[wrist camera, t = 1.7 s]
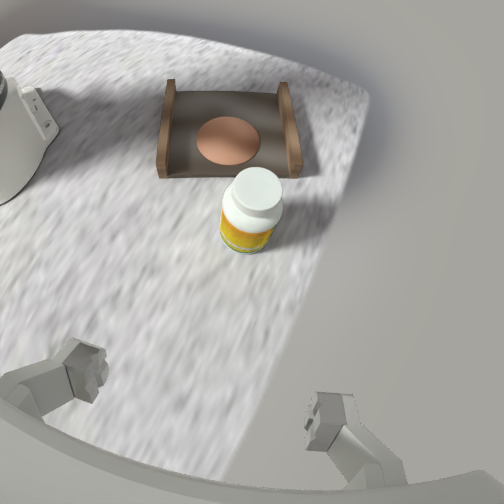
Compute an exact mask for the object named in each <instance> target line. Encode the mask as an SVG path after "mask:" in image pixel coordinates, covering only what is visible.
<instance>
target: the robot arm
mask: <svg viewBox="0 0 504 504" xmlns="http://www.w3.org/2000/svg"><path fill="white" fill-rule="evenodd" d="M58 132H59V127H58V126H57V124H56V122H55V121H54V119H53V118H52V116H51V114H50V113H49V111H48V109H47V108H46V106H45V104H44V103H43V101H42V99H41V98H40V96H39V94H38V93H37V91H36V89H35V88H34V87H33V86H28V87H25V88H22V89H20V87H19V85H18V83H17V81H16V79H15V78H13V77H9V78H5V77H4V75H3V73H2V72H1V71H0V204H2V203H4V202H6V201H8V200H9V199H11V198H12V197H13V196H15V195H16V194H17V193H18V192H19V191H20V190H21V189H22V188H23V187H24V186H25V185H26V184H27V183H28V181H29V180H30V179H31V177H32V176H33V175H34V173H35V171H36V170H37V168H38V166H39V164H40V162H41V160H42V157H43V155H44V152H45V150H46V148H47V147H48V145H49V144H50V143H51V142H52V141H53V139H54V138H55V137H56V135H57V134H58ZM106 356H107V355H106V350H105V349H104V348H102V347H99V346H96V345H93V344H90V343H88V342H85V341H82V340H79V339H76V338H74V337H73V338H70V339H69V340H68V341H67V342H66V344H65V345H64V346H63V347H62V348H61V349H60V350H59V352H58V353H57V354H56V355H55V356H54V357H53V358H52V360H51V359H46V360H43V361H40V362H37V363H34V364H31V365H28V366H25V367H22V368H20V369H17V370H14V371H11V372H8V373H5V374H4V375H3V376H2V377H1V378H0V504H504V485H503V484H502V483H501V482H499V481H498V480H497V479H496V478H494V477H493V476H492V475H490V474H488V473H487V472H485V471H483V470H477V471H472V472H469V473H465V474H461V475H456V476H453V477H448V478H443V479H439V480H433V481H428V482H422V483H416V484H410V485H408V483H407V479H406V475H405V471H404V467H403V463H402V460H400V458H398V457H397V456H396V455H395V454H394V453H393V452H392V451H391V450H390V449H389V448H388V447H387V446H386V445H385V444H383V443H382V442H381V441H380V440H379V439H378V438H377V437H376V436H375V435H374V434H373V433H372V432H371V431H370V430H369V429H368V428H366V426H364V425H361V423H360V419H359V414H358V410H357V406H356V402H355V398H354V395H353V394H339V393H326V392H315V393H314V394H313V396H312V398H311V399H312V404H310V405H309V406H308V408H307V410H306V414H305V419H304V428H305V429H306V430H307V434H306V436H305V448H306V450H308V451H321V452H327V454H328V456H329V457H330V458H331V460H332V461H333V462H334V464H335V465H336V467H337V468H338V469H339V471H340V472H341V473H342V475H343V476H344V478H345V479H346V480H347V482H348V485H347V486H346V487H345V488H344V489H343V490H332V491H331V490H330V491H321V490H290V489H275V488H265V487H256V486H247V485H240V484H233V483H226V482H221V481H215V480H209V479H204V478H199V477H195V476H190V475H186V474H181V473H177V472H173V471H169V470H166V469H162V468H158V467H155V466H151V465H148V464H144V463H141V462H138V461H135V460H132V459H129V458H126V457H123V456H120V455H117V454H114V453H112V452H109V451H106V450H104V449H101V448H99V447H96V446H93V445H91V444H89V443H86V442H84V441H81V440H79V439H77V438H75V437H72V436H70V435H68V434H66V433H64V432H62V431H59V430H57V429H55V428H53V427H51V426H49V425H47V424H45V422H44V420H43V418H42V416H44V415H46V414H47V413H49V412H51V411H53V410H55V409H56V408H58V407H60V406H62V405H63V404H65V403H67V402H69V401H71V400H72V399H74V397H75V398H78V399H80V400H83V401H86V402H88V403H91V404H92V403H93V402H94V400H95V398H96V397H97V395H98V394H99V391H98V388H99V387H101V386H103V385H104V384H105V382H106V380H107V377H108V371H109V368H108V364H107V362H106V361H105V360H104V359H105V358H106Z"/></svg>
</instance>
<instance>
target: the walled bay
mask: <svg viewBox="0 0 504 504" xmlns="http://www.w3.org/2000/svg"><path fill="white" fill-rule="evenodd" d="M156 167H157V171H158V176H159V178H190V177H236V176H237V175H238V174H239V173H240V172H241V171H243V170H244V169H247V168H251V167H261V168H265V169H267V170H270V171H271V172H273V173H274V174H275V175H276V176H277V177H278V178H295V179H297V177H298V175H299V173H300V171H301V169H302V167H303V160H302V154H301V149H300V143H299V138H298V133H297V127H296V122H295V117H294V112H293V107H292V103H291V98H290V93H289V88H288V84H287V82H280V84H279V87H278V91H277V94H273V93H258V92H236V91H180V92H176V86H175V79H168V80H167V86H166V92H165V98H164V104H163V111H162V118H161V125H160V132H159V140H158V149H157V157H156Z"/></svg>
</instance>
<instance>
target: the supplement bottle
mask: <svg viewBox="0 0 504 504" xmlns="http://www.w3.org/2000/svg"><path fill="white" fill-rule="evenodd" d="M282 194H283V188H282V184H281V181H280V180H279V178H278V177H277V176H276V175H275V174H274V173H273V172H271V171H270V170H267V169H265V168H261V167H251V168H247V169H244V170H243V171H241V172H240V173H239V174H238V175H237V176H236V178H235V180H234V182H232V183H231V184H230V185H229V186H228V188H227V189H226V191H225V193H224V195H223V200H222V209H221V218H220V227H219V230H220V236H221V239H222V240H223V242H224V243H225V245H226V246H227V247H228V248H229V249H231V250H232V251H234V252H236V253H239V254H252V253H255V252H257V251H259V250H260V249H262V248H263V247H264V246H265V245H266V243H267V242H268V240H269V238H270V236H271V234H272V232H273V231H274V229H275V227H276V225H277V223H278V222H279V220H280V218H281V215H282V212H283V200H282Z"/></svg>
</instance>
